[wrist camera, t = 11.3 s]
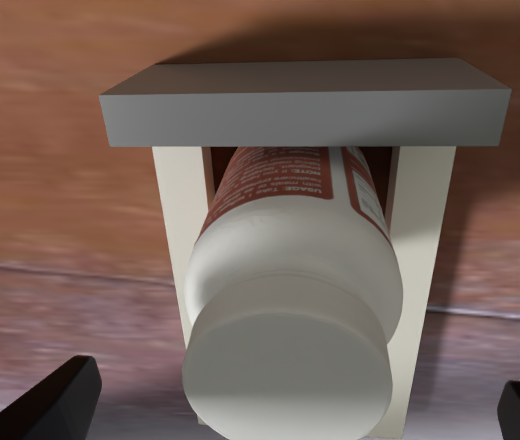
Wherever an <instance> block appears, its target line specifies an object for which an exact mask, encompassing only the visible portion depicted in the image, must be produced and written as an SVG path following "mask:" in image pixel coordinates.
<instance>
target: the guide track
mask: <svg viewBox="0 0 520 440" xmlns="http://www.w3.org/2000/svg"><path fill="white" fill-rule="evenodd" d="M511 91H512V89H511V88H510V87H508V86H506V85H504V84H503V83H501V82H499V81H498V80H496V79H494V78H493V77H491V76H489V75H487V74H486V73H484V72H482V71H481V70H479V69H477V68H476V67H474V66H472V65H471V64H469V63H467V62H465V61H464V60H462V59H460V58H420V59H377V60H335V61H292V62H249V63H206V64H163V65H151V66H150V67H148V68H146V69H144V70H143V71H141V72H139V73H137V74H135V75H134V76H132V77H130V78H128V79H127V80H125V81H123V82H121V83H120V84H118V85H116V86H114V87H113V88H111V89H109V90H107V91H105V92H104V93H102V94H100V95H99V99H100V103H101V108H102V113H103V117H104V122H105V126H106V131H107V136H108V140H109V145H110V147H152V149H153V155H154V161H155V167H156V173H157V179H158V185H159V191H160V197H161V203H162V209H163V215H164V221H165V227H166V233H167V238H168V244H169V250H170V256H171V262H172V268H173V274H174V280H175V286H176V292H177V298H178V304H179V310H180V316H181V322H182V328H183V334H184V340H185V346H186V350H187V347H188V343H189V340H190V336H191V331H192V328H193V326H192V324H191V322H190V319H189V316H188V312H187V309H186V304H185V297H184V283H185V276H186V270H187V267H188V263H189V260H190V257H191V254H192V251H193V248H194V244H195V242H196V241H197V239H198V236H199V234H200V231H201V229H202V226H203V224H204V221H205V219H206V217H207V214H208V212H209V209H210V207H211V205H212V202H213V200H214V197H215V188H214V178H213V168H212V158H211V148H210V147H257V146H393V148H392V157H391V166H390V175H389V183H388V192H387V201H386V210H385V219H384V220H385V223H386V226H387V230H388V233H389V236H390V239H391V242H392V245H393V248H394V251H395V254H396V257H397V261H398V264H399V270H400V273H401V278H402V283H403V307H402V313H401V317H400V320H399V323H398V326H397V329H396V331H395V333H394V335H393V337H392V339H391V340H390V342H389V343H388V344H387V349H388V355H389V361H390V368H391V374H392V380H393V391H392V398H391V402H390V405H389V407H388V410H387V412H386V414H385V415H384V417H383V418H382V420H381V422H380V423H379V424H378V425H377V426H376V427H375V428H374V429H373V430H372V431H370V432H369V433H368V434H367V435H365V437H378V438H392V439H402V435H403V430H404V424H405V419H406V414H407V408H408V403H409V398H410V392H411V387H412V382H413V376H414V371H415V365H416V360H417V355H418V349H419V344H420V339H421V333H422V328H423V323H424V317H425V312H426V306H427V301H428V296H429V290H430V285H431V280H432V274H433V269H434V264H435V258H436V253H437V248H438V242H439V237H440V231H441V226H442V221H443V215H444V210H445V205H446V199H447V194H448V189H449V183H450V178H451V172H452V167H453V162H454V156H455V151H456V146H499V142H500V138H501V134H502V130H503V125H504V121H505V117H506V113H507V108H508V104H509V100H510V96H511ZM197 417H198V423H199V424H201V425H208V424H206V423H205V422H204V421H203V420H202V419H201V418H200V417H199V416H198V415H197Z"/></svg>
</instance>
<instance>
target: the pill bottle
mask: <svg viewBox="0 0 520 440" xmlns="http://www.w3.org/2000/svg"><path fill="white" fill-rule="evenodd" d="M184 297H185V304H186V309H187V312H188V316H189V319H190V322H191V324H192V326H193V328H192V331H191V336H190V340H189V343H188V347H187V350H186V353H185V357H184V361H183V365H182V382H183V389H184V392H185V395H186V397H187V399H188V401H189V403H190V405H191V407H192V408H193V410H194V411H195V412H196V413H197V415H198V416H199V417H200V418H201V419H202V420H203V421H204V422H205V423H206V424H208V425H209V426H210V427H211V428H212V429H213V430H215V431H216V432H218V433H219V434H221V435H222V436H224V437H226V438H227V439H229V440H359V439H361V438H362V437H364V436H365V435H367V434H368V433H369V432H370V431H372V430H373V429H374V428H375V427H376V426H377V425H378V424H379V423H380V422H381V420H382V418H383V417H384V415H385V414H386V412H387V410H388V407H389V405H390V402H391V398H392V391H393V380H392V374H391V368H390V361H389V355H388V349H387V344H388V343H389V342H390V340H391V339H392V337H393V335H394V333H395V331H396V329H397V326H398V323H399V320H400V317H401V313H402V307H403V283H402V278H401V273H400V270H399V264H398V261H397V257H396V254H395V251H394V248H393V245H392V242H391V239H390V236H389V233H388V230H387V226H386V223H385V220H384V216H383V213H382V209H381V206H380V203H379V200H378V196H377V193H376V190H375V187H374V183H373V180H372V177H371V174H370V170H369V167H368V165H367V162H366V160H365V157H364V155H363V154H362V152H361V150H360V149H359V147H358V146H257V147H238V148H237V150H236V151H235V153H234V155H233V156H232V158H231V160H230V162H229V164H228V167H227V169H226V172H225V174H224V176H223V179H222V181H221V183H220V186H219V188H218V191H217V193H216V195H215V197H214V200H213V202H212V205H211V207H210V209H209V212H208V214H207V217H206V219H205V221H204V224H203V226H202V229H201V231H200V234H199V236H198V239H197V241H196V242H195V244H194V248H193V251H192V254H191V257H190V260H189V263H188V267H187V270H186V276H185V283H184Z"/></svg>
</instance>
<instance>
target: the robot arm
mask: <svg viewBox="0 0 520 440" xmlns="http://www.w3.org/2000/svg"><path fill="white" fill-rule="evenodd" d="M101 388H102V380H101V376H100V373H99V370H98V367H97V364H96V361H95V359H94V358H93V357H92V356H84V355H77V356H74V357H72V358H71V359H70V360H68V361H67V362H66V363H64V364H63V365H62V366H60V367H59V368H58V369H56V370H55V371H54V372H52V373H51V374H50V375H48V376H47V377H46V378H45V379H43V380H42V381H41V382H39V383H38V384H37V385H35V386H34V387H33V388H31V389H30V390H29V391H27V392H26V393H25V394H23V395H22V396H21V397H19V398H18V399H17V400H16V401H14V402H13V403H12V404H10V405H9V406H8V407H6V408H5V409H4V410H2V411H1V412H0V440H85V439H86V436H87V433H88V429H89V426H90V423H91V420H92V417H93V414H94V411H95V408H96V405H97V401H98V398H99V395H100V392H101ZM497 414H498V420H499V424H500V428H501V432H502V436H503V440H520V381H512V380H511V381H508V382H506V384H505V386H504V389H503V392H502V395H501V398H500V401H499V404H498V408H497Z"/></svg>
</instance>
